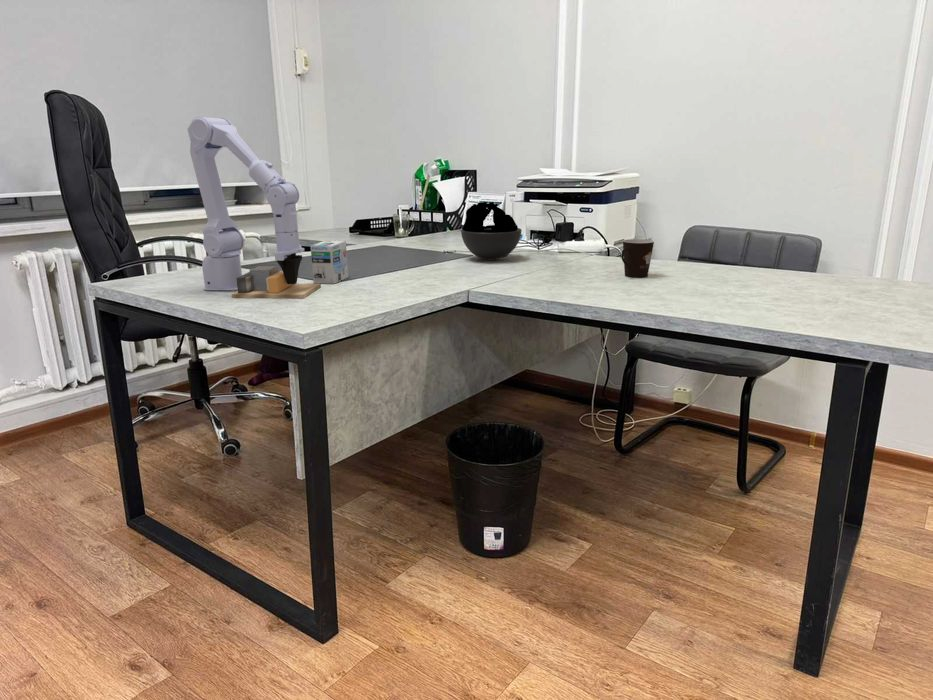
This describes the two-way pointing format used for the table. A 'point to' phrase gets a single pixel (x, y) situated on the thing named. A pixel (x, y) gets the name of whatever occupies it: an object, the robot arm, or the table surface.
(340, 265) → the light bulb box
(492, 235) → the coal bowl
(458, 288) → the table surface
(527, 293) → the table surface
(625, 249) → the coffee mug
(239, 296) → the vise
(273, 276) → the block
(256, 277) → the steel block
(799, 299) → the table surface
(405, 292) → the table surface
